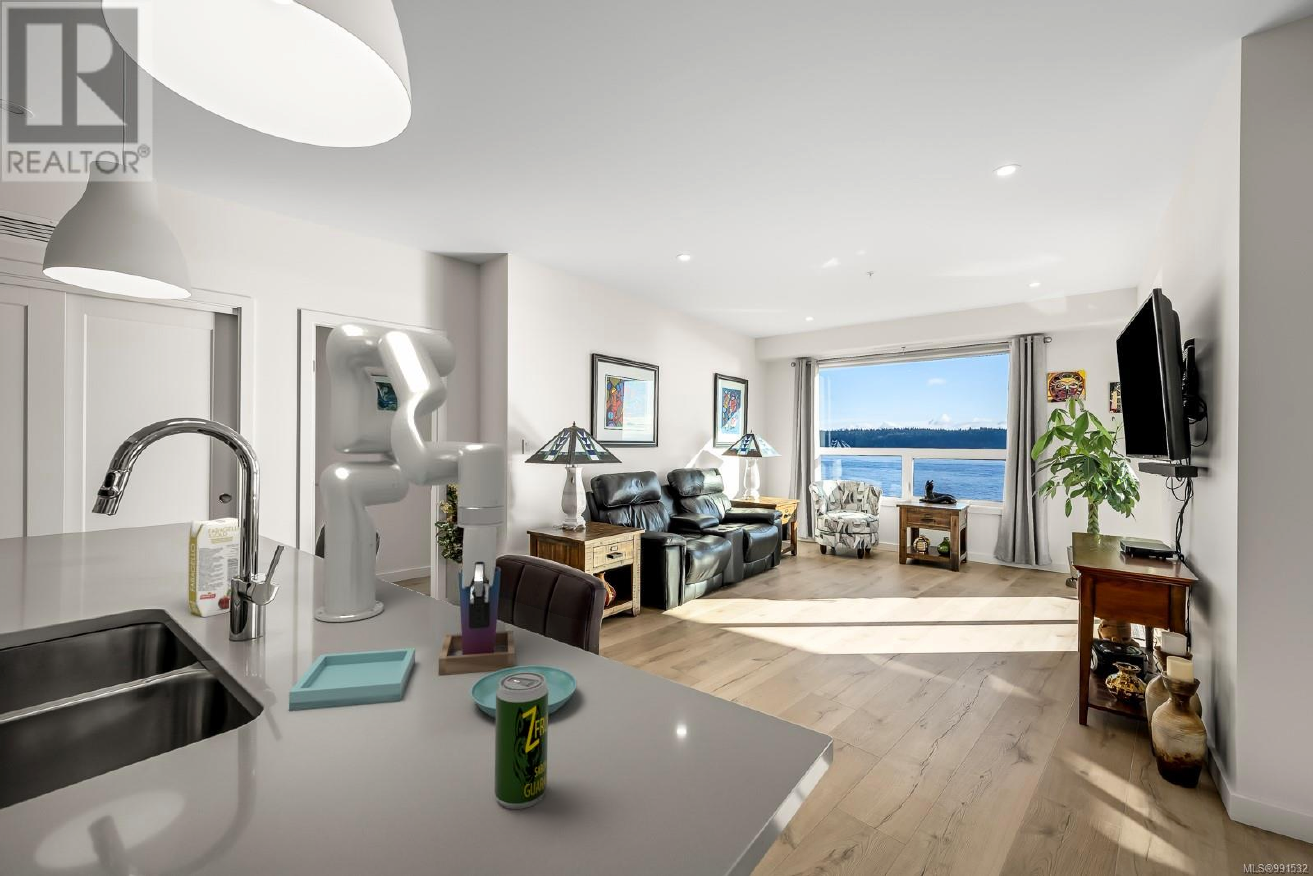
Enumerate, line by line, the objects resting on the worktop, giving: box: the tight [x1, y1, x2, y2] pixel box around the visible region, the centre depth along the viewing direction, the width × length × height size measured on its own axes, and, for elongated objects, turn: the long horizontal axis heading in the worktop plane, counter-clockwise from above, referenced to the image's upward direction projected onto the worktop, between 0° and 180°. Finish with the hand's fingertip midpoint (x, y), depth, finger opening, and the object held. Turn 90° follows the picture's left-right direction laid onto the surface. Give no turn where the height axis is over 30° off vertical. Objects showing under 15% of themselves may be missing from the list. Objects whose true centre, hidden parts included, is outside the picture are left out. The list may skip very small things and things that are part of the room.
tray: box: [288, 647, 416, 712], centre depth 89 cm, size 14×14×2 cm
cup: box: [458, 566, 502, 655], centre depth 100 cm, size 7×7×15 cm
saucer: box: [469, 665, 578, 719], centre depth 84 cm, size 15×15×3 cm
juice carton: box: [187, 517, 239, 618], centre depth 123 cm, size 8×9×19 cm
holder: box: [438, 630, 515, 676], centre depth 100 cm, size 12×12×2 cm
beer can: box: [494, 672, 549, 810], centre depth 62 cm, size 5×5×12 cm
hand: (480, 618), depth 99 cm, fingers open, 9 cm apart
